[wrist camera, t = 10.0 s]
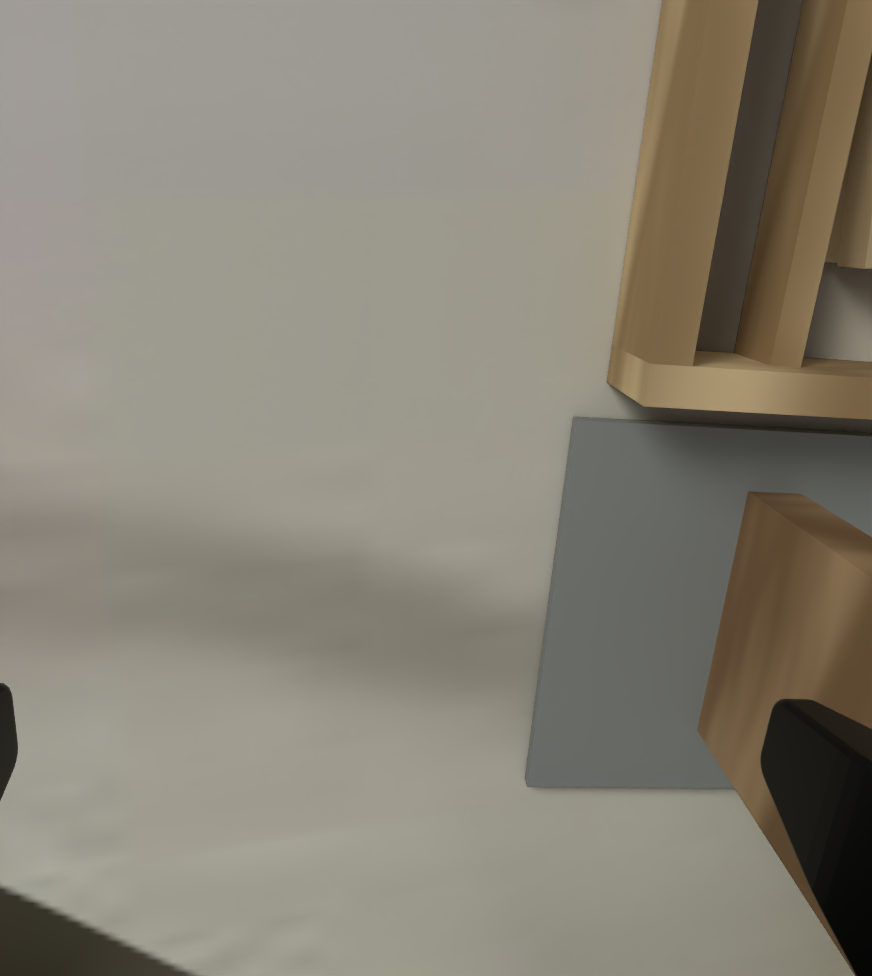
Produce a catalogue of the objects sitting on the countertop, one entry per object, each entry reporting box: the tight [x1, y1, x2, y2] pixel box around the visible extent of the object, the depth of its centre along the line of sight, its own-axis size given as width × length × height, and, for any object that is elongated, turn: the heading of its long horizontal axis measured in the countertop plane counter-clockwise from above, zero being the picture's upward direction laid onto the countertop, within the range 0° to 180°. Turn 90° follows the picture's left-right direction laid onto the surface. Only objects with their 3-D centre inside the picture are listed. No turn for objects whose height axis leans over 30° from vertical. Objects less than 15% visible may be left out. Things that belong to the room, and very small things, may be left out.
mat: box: [525, 417, 872, 789], centre depth 23 cm, size 12×12×1 cm
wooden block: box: [697, 491, 872, 976], centre depth 18 cm, size 2×8×10 cm, turn 176°
